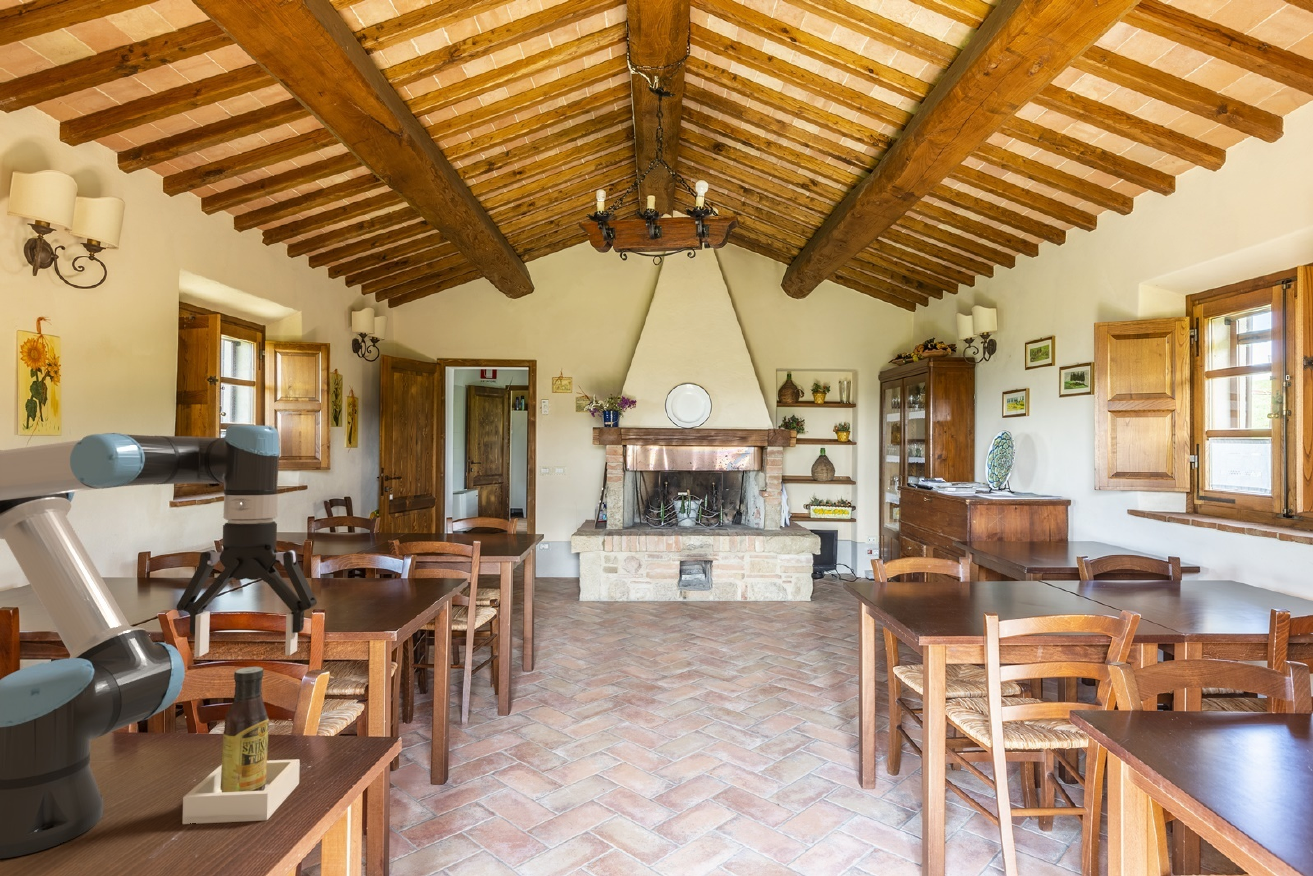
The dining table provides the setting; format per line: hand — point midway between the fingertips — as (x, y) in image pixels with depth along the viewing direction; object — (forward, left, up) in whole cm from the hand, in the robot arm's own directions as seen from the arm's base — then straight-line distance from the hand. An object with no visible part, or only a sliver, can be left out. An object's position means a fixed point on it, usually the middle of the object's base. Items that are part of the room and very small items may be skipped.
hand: (246, 654), depth 111 cm
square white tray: (0, 0, -24) cm, 24 cm away
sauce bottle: (0, 0, -23) cm, 23 cm away
